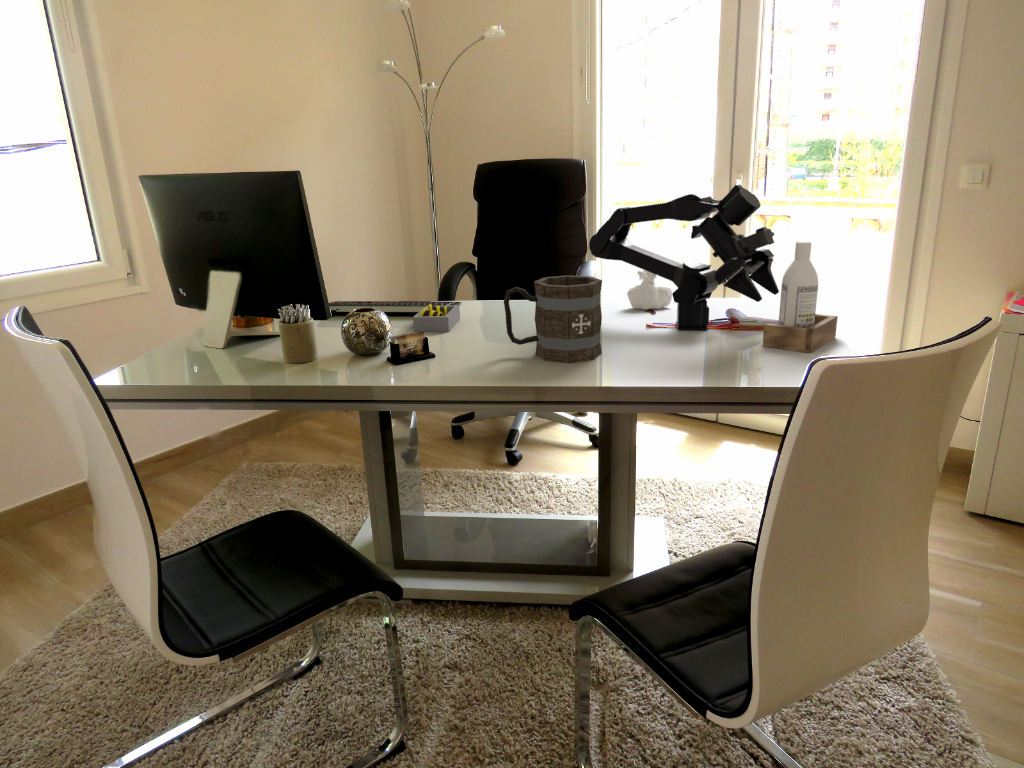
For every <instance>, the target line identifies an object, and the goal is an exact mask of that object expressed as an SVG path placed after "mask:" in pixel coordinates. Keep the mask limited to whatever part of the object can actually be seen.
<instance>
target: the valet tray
mask: <svg viewBox="0 0 1024 768" xmlns="http://www.w3.org/2000/svg"><path fill="white" fill-rule="evenodd" d="M439 306H440V307H443V308H444V307H447V315H446V316H420V313H421V311H422V310H423V309H424V308H428V305H425V307H422V309H421V310H420V311H418V313H416V314H414V316H413V317H412V321H413V322H412V323H413V332H414V333H430V332H431V333H450V331H451V330H452V329H453V328H454V327H455V326H456V324H457V323H458V322H459V321H460V320H461V314H460V313H461V312H460V311H461V310H460V309H461V308H460V305H439Z"/></svg>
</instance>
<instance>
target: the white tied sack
mask: <svg viewBox="0 0 1024 768" xmlns="http://www.w3.org/2000/svg"><path fill="white" fill-rule="evenodd" d="M636 273H637V276H639V278H638V280H639V281H641V280H642V282H641V283H640V284H638V285H634V286H633V287H631V288H629V289H628V291H627V292H626V295H627V298H628V301H629V303H630V305H631V307H632V308H633V309H636V310H637V309H638V310H639V309H640V310H653V309H657V310H660V309H662V308H666V307H667V306H669V305H670V304H671V302H672V299H673V295H672V294H673V292H672V291H673V290H672V288H671V287H669V286H667V285H664V284H660V283H656V282H655V279H656V278H657V275H656V274H653V273H651V272H648V271H646V270H643V269H641V270H638V271H637V272H636Z"/></svg>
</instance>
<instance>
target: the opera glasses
mask: <svg viewBox="0 0 1024 768" xmlns="http://www.w3.org/2000/svg"><path fill="white" fill-rule="evenodd" d="M427 306H428V308H424V307H423V308H424V309H423V308H422V309H423V310H422V309H421V310H422V311H421V310H420V311H421V313H420V316H446V315H447V307H444V308H443V307H440V306H441V305H432V304H431V303H429V304H428V305H427Z"/></svg>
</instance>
